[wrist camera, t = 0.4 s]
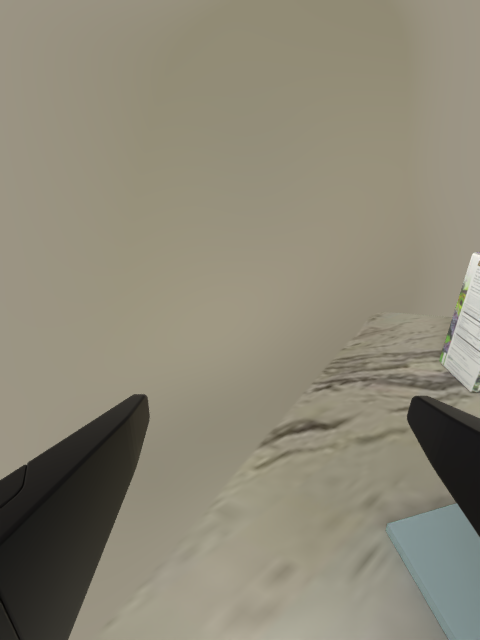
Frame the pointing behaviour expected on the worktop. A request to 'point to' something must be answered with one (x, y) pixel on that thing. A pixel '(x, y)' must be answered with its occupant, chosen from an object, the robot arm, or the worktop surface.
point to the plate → (443, 566)
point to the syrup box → (465, 331)
